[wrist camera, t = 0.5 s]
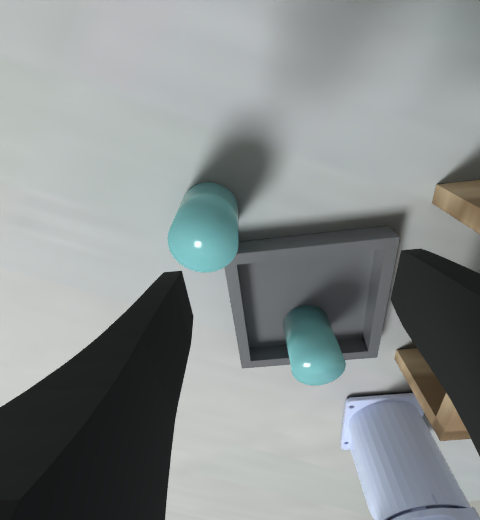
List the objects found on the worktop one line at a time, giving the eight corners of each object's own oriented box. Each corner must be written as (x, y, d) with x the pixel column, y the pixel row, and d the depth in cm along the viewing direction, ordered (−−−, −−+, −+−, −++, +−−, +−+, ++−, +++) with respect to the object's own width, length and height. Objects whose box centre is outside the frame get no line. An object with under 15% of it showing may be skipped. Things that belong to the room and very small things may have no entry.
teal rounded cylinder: (326, 337, 25) (343, 383, 21) (283, 340, 25) (291, 386, 21) (329, 303, 23) (347, 346, 19) (282, 307, 23) (291, 350, 19)
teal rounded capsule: (241, 232, 20) (242, 268, 16) (188, 237, 20) (176, 275, 16) (234, 178, 18) (233, 206, 14) (175, 185, 18) (159, 214, 14)
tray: (366, 336, 26) (377, 357, 24) (241, 347, 26) (241, 368, 24) (384, 222, 20) (399, 237, 18) (223, 239, 21) (222, 255, 19)
